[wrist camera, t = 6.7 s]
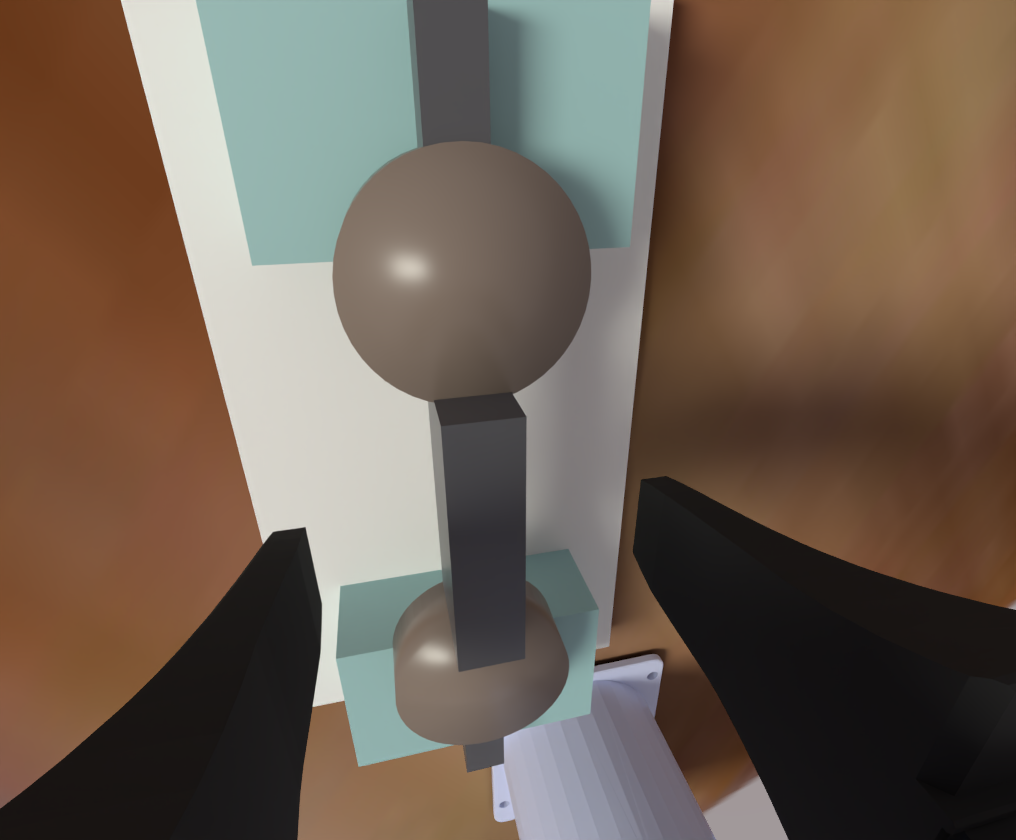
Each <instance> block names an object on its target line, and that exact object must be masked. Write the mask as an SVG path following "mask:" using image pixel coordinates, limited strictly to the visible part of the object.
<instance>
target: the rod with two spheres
mask: <svg viewBox="0 0 1016 840" xmlns="http://www.w3.org/2000/svg"><path fill="white" fill-rule="evenodd" d="M407 14H408V27H409V41H410V54H411V68H412V81H413V94H414V108H415V121H416V134H417V148H415V149H412V150H410V151H407V152H405V153H402V154H400V155H398V156H397V157H395V158H393V159H392V160H390V161H388V162H387V163H385V164H384V165H383V166H382V167H380V168H379V169H378V170H377V171H375V172H374V173H373V174H372V175H371V176H370V177H369V178H368V180H367V181H366V182H365V183H364V184H363V185H362V187H361V188H360V189H359V191H358V192H357V194H356V195H355V197H354V198H353V200H352V202H351V204H350V206H349V208H348V210H347V212H346V215H345V218H344V221H343V224H342V226H341V229H340V232H339V235H338V238H337V242H336V247H335V252H334V258H333V274H332V279H333V291H334V298H335V303H336V307H337V312H338V315H339V318H340V320H341V323H342V326H343V329H344V331H345V332H346V334H347V336H348V338H349V340H350V342H351V344H352V345H353V347H354V348H355V350H356V351H357V353H358V354H359V355H360V357H361V358H362V359H363V360H364V362H365V363H366V364H367V365H368V366H369V367H370V368H371V369H372V370H373V371H374V372H375V373H376V374H378V375H379V376H380V377H381V378H382V379H383V380H385V381H386V382H388V383H389V384H391V385H392V386H394V387H395V388H397V389H398V390H400V391H403V392H405V393H407V394H409V395H411V396H413V397H416V398H419V399H422V400H425V401H428V409H429V421H430V433H431V445H432V457H433V470H434V482H435V494H436V506H437V518H438V530H439V542H440V555H441V567H442V579H443V582H441V583H438V584H437V585H435V586H433V587H431V588H430V589H428V590H427V591H425V592H424V593H422V594H421V595H420V596H419V597H417V598H416V599H415V600H414V601H413V602H412V603H411V604H410V605H409V606H408V608H407V609H406V610H405V611H404V613H403V614H402V616H401V617H400V619H399V621H398V623H397V625H396V628H395V631H394V635H393V660H394V679H395V698H396V707H397V711H398V714H399V716H400V718H401V719H402V721H403V722H404V723H405V725H406V726H407V727H408V728H409V729H410V730H411V731H413V732H414V733H416V734H417V735H419V736H421V737H423V738H425V739H427V740H431V741H434V742H437V743H442V744H450V745H463V749H464V755H465V761H466V768H467V772H471V771H475V770H480V769H484V768H488V767H492V766H496V765H500V764H504V737H505V736H508V735H510V734H512V733H514V732H517V731H519V730H521V729H522V728H524V727H526V726H528V725H529V724H531V723H532V722H534V721H535V720H537V719H538V718H539V717H540V716H541V715H543V714H544V713H545V712H546V711H547V710H548V709H549V708H550V707H551V706H552V705H553V704H554V702H555V701H556V700H557V698H558V697H559V695H560V694H561V692H562V690H563V688H564V686H565V684H566V681H567V678H568V673H569V658H568V654H567V651H566V648H565V646H564V643H563V641H562V638H561V636H560V633H559V631H558V629H557V626H556V624H555V621H554V619H553V616H552V614H551V611H550V609H549V606H548V604H547V602H546V599H545V598H544V596H543V595H542V593H541V592H540V591H539V590H538V589H537V588H536V587H535V586H534V585H532V584H531V583H530V582H528V581H526V429H527V417H526V415H525V413H524V412H523V410H522V408H521V407H520V405H519V404H518V402H517V400H516V399H515V397H514V395H513V394H514V393H517V392H519V391H520V390H522V389H524V388H526V387H527V386H529V385H531V384H532V383H534V382H535V381H536V380H538V379H539V378H540V377H542V376H543V375H544V374H545V373H546V372H547V371H548V370H549V369H550V368H552V367H553V366H554V365H555V363H556V362H557V361H558V360H559V359H560V358H561V356H562V355H563V354H564V353H565V351H566V350H567V348H568V347H569V345H570V344H571V342H572V341H573V339H574V337H575V335H576V333H577V331H578V329H579V327H580V325H581V322H582V319H583V317H584V314H585V311H586V307H587V303H588V299H589V294H590V285H591V258H590V250H589V244H588V241H587V237H586V233H585V229H584V227H583V224H582V222H581V219H580V217H579V214H578V212H577V211H576V209H575V207H574V205H573V204H572V202H571V200H570V198H569V197H568V196H567V194H566V193H565V192H564V190H563V189H562V188H561V187H560V185H559V184H558V183H557V182H556V181H555V180H554V179H553V178H552V177H551V176H550V175H549V174H548V173H547V172H546V171H544V170H543V169H542V168H540V167H539V166H538V165H536V164H535V163H534V162H532V161H531V160H529V159H527V158H525V157H523V156H522V155H520V154H518V153H516V152H513V151H511V150H508V149H506V148H503V147H500V146H496V145H492V144H491V126H490V80H489V33H488V0H407Z"/></svg>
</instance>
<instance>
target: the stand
mask: <svg viewBox="0 0 1016 840" xmlns="http://www.w3.org/2000/svg"><path fill="white" fill-rule="evenodd" d="M121 2H122V6H123V10H124V14H125V18H126V21H127V25H128V29H129V33H130V37H131V41H132V44H133V48H134V52H135V56H136V60H137V64H138V67H139V71H140V75H141V79H142V83H143V86H144V90H145V94H146V98H147V102H148V106H149V109H150V113H151V117H152V121H153V125H154V128H155V132H156V136H157V140H158V144H159V148H160V151H161V155H162V159H163V163H164V167H165V171H166V174H167V178H168V182H169V186H170V190H171V193H172V197H173V201H174V205H175V209H176V213H177V216H178V220H179V224H180V228H181V232H182V236H183V239H184V243H185V247H186V251H187V255H188V258H189V262H190V266H191V270H192V274H193V278H194V281H195V285H196V289H197V293H198V297H199V300H200V304H201V308H202V312H203V316H204V320H205V323H206V327H207V331H208V335H209V339H210V343H211V346H212V350H213V354H214V358H215V362H216V365H217V369H218V373H219V377H220V381H221V385H222V388H223V392H224V396H225V400H226V404H227V408H228V411H229V415H230V419H231V423H232V427H233V430H234V434H235V438H236V442H237V446H238V450H239V453H240V457H241V461H242V465H243V469H244V472H245V476H246V480H247V484H248V488H249V492H250V495H251V499H252V503H253V507H254V511H255V515H256V518H257V522H258V526H259V530H260V534H261V537H262V541H263V544H264V542H265V541H266V540H267V538H268V537H269V536H270V535H271V534H272V532H275V531H282V530H289V529H296V528H303V527H306V532H307V536H308V541H309V546H310V550H311V555H312V560H313V564H314V569H315V574H316V578H317V583H318V588H319V592H320V597H321V601H322V632H321V654H320V661H319V668H318V674H317V681H316V687H315V694H314V700H313V707H315V706H320V705H325V704H330V703H334V702H339V701H344V700H345V704H346V709H347V714H348V719H349V723H350V728H351V733H352V737H353V742H354V747H355V751H356V756H357V761H358V766H359V767H360V766H365V765H369V764H373V763H378V762H382V761H386V760H391V759H395V758H400V757H404V756H408V755H413V754H417V753H421V752H426V751H430V750H434V749H439V748H443V747H448V746H452V745H450V744H442V743H437V742H434V741H431V740H427V739H425V738H423V737H421V736H419V735H417V734H416V733H414V732H413V731H411V730H410V729H409V728H408V727H407V726H406V725H405V723H404V722H403V721H402V719H401V718H400V716H399V714H398V711H397V707H396V698H395V679H394V660H393V635H394V631H395V628H396V625H397V623H398V621H399V619H400V617H401V616H402V614H403V613H404V611H405V610H406V609H407V608H408V606H409V605H410V604H411V603H412V602H413V601H414V600H415V599H416V598H417V597H419V596H420V595H421V594H422V593H424V592H425V591H427V590H428V589H430V588H431V587H433V586H435V585H437V584H438V583H441V582H443V579H442V567H441V555H440V542H439V530H438V518H437V506H436V494H435V482H434V470H433V457H432V445H431V433H430V421H429V409H428V401H425V400H422V399H419V398H416V397H413V396H411V395H409V394H407V393H405V392H403V391H400V390H398V389H397V388H395V387H394V386H392V385H391V384H389V383H388V382H386V381H385V380H383V379H382V378H381V377H380V376H379V375H378V374H376V373H375V372H374V371H373V370H372V369H371V368H370V367H369V366H368V365H367V364H366V363H365V362H364V360H363V359H362V358H361V357H360V355H359V354H358V353H357V351H356V350H355V348H354V347H353V345H352V344H351V342H350V340H349V338H348V336H347V334H346V332H345V331H344V329H343V326H342V323H341V320H340V318H339V315H338V312H337V307H336V303H335V298H334V291H333V279H332V274H333V258H334V252H335V247H336V242H337V238H338V235H339V232H340V229H341V226H342V224H343V221H344V218H345V215H346V212H347V210H348V208H349V206H350V204H351V202H352V200H353V198H354V197H355V195H356V194H357V192H358V191H359V189H360V188H361V187H362V185H363V184H364V183H365V182H366V181H367V180H368V178H369V177H370V176H371V175H372V174H373V173H374V172H375V171H377V170H378V169H379V168H380V167H382V166H383V165H384V164H385V163H387V162H388V161H390V160H392V159H393V158H395V157H397V156H398V155H400V154H402V153H405V152H407V151H410V150H412V149H415V148H417V134H416V121H415V108H414V94H413V81H412V68H411V54H410V41H409V27H408V14H407V0H121ZM673 3H674V0H488V33H489V80H490V126H491V144H492V145H496V146H500V147H503V148H506V149H508V150H511V151H513V152H516V153H518V154H520V155H522V156H523V157H525V158H527V159H529V160H531V161H532V162H534V163H535V164H536V165H538V166H539V167H540V168H542V169H543V170H544V171H546V172H547V173H548V174H549V175H550V176H551V177H552V178H553V179H554V180H555V181H556V182H557V183H558V184H559V185H560V187H561V188H562V189H563V190H564V192H565V193H566V194H567V196H568V197H569V198H570V200H571V202H572V204H573V205H574V207H575V209H576V211H577V212H578V214H579V217H580V219H581V222H582V224H583V227H584V229H585V233H586V237H587V241H588V244H589V250H590V258H591V285H590V294H589V299H588V303H587V307H586V311H585V314H584V317H583V319H582V322H581V325H580V327H579V329H578V331H577V333H576V335H575V337H574V339H573V341H572V342H571V344H570V345H569V347H568V348H567V350H566V351H565V353H564V354H563V355H562V356H561V358H560V359H559V360H558V361H557V362H556V363H555V365H554V366H553V367H552V368H550V369H549V370H548V371H547V372H546V373H545V374H544V375H543V376H542V377H540V378H539V379H538V380H536V381H535V382H534V383H532V384H531V385H529V386H527V387H526V388H524V389H522V390H520V391H519V392H517V393H514V394H513V395H514V397H515V399H516V400H517V402H518V404H519V405H520V407H521V408H522V410H523V412H524V413H525V415H526V417H527V429H526V581H528V582H530V583H531V584H532V585H534V586H535V587H536V588H537V589H538V590H539V591H540V592H541V593H542V595H543V596H544V598H545V599H546V602H547V604H548V606H549V609H550V611H551V614H552V616H553V619H554V621H555V624H556V626H557V629H558V631H559V633H560V636H561V638H562V641H563V643H564V646H565V648H566V651H567V654H568V658H569V673H568V678H567V681H566V684H565V686H564V688H563V690H562V692H561V694H560V695H559V697H558V698H557V700H556V701H555V702H554V704H553V705H552V706H551V707H550V708H549V709H548V710H547V711H546V712H545V713H544V714H543V715H541V716H540V717H539V718H538V719H537V720H535V721H534V722H532V723H531V724H529V725H528V726H526V727H524V728H522V729H526V728H531V727H535V726H539V725H544V724H548V723H552V722H557V721H561V720H565V719H570V718H574V717H579V716H583V715H587V714H590V710H591V698H592V686H593V675H594V663H595V651H596V649H599V648H604V647H608V646H609V642H610V632H611V622H612V612H613V602H614V592H615V582H616V572H617V562H618V552H619V542H620V532H621V522H622V512H623V502H624V492H625V482H626V472H627V462H628V452H629V442H630V432H631V422H632V412H633V402H634V392H635V382H636V372H637V362H638V352H639V342H640V333H641V323H642V313H643V303H644V293H645V283H646V273H647V263H648V253H649V243H650V233H651V223H652V213H653V203H654V193H655V183H656V173H657V163H658V153H659V143H660V133H661V123H662V113H663V103H664V93H665V83H666V73H667V63H668V53H669V43H670V33H671V23H672V13H673ZM522 729H521V730H522Z"/></svg>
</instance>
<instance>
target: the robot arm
mask: <svg viewBox="0 0 1016 840" xmlns="http://www.w3.org/2000/svg"><path fill="white" fill-rule="evenodd" d="M633 554H634V556H635V558H636V560H637V562H638V565H639V567H640V569H641V571H642V573H643V575H644V577H645V580H646V582H647V584H648V586H649V588H650V590H651V591H652V593H653V595H654V596H655V598H656V599H657V601H658V603H659V604H660V606H661V607H662V609H663V610H664V612H665V614H666V615H667V617H668V618H669V620H670V621H671V623H672V624H673V626H674V627H675V629H676V630H677V632H678V633H679V635H680V636H681V638H682V640H683V641H684V643H685V644H686V646H687V647H688V649H689V650H690V652H691V653H692V655H693V656H694V658H695V659H696V661H697V662H698V664H699V665H700V667H701V668H702V670H703V672H704V673H705V675H706V676H707V678H708V679H709V681H710V683H711V684H712V686H713V688H714V689H715V691H716V693H717V694H718V696H719V698H720V700H721V702H722V704H723V706H724V708H725V709H726V711H727V713H728V715H729V717H730V719H731V721H732V723H733V725H734V727H735V729H736V730H737V732H738V734H739V736H740V738H741V740H742V742H743V744H744V746H745V748H746V750H747V752H748V754H749V756H750V758H751V760H752V762H753V764H754V766H755V768H756V771H757V773H758V775H759V777H760V779H761V781H762V782H763V785H764V787H765V789H766V791H767V793H768V795H769V797H770V800H771V802H772V804H773V806H774V808H775V811H776V813H777V815H778V817H779V819H780V822H781V824H782V826H783V828H784V830H785V833H786V835H787V837H788V839H789V840H1016V610H1013V609H1009V608H1004V607H999V606H995V605H990V604H986V603H982V602H978V601H974V600H970V599H966V598H962V597H958V596H954V595H950V594H947V593H943V592H939V591H936V590H932V589H929V588H925V587H922V586H918V585H915V584H912V583H909V582H905V581H902V580H899V579H896V578H893V577H890V576H886V575H883V574H880V573H877V572H874V571H871V570H868V569H866V568H863V567H860V566H857V565H854V564H852V563H849V562H847V561H844V560H841V559H839V558H836V557H834V556H831V555H829V554H826V553H823V552H821V551H818V550H816V549H814V548H811V547H809V546H807V545H804V544H802V543H800V542H798V541H795V540H793V539H791V538H789V537H787V536H785V535H782V534H780V533H778V532H776V531H774V530H772V529H770V528H768V527H765V526H763V525H761V524H759V523H757V522H755V521H753V520H751V519H749V518H747V517H745V516H743V515H742V514H740V513H738V512H736V511H734V510H732V509H730V508H728V507H726V506H724V505H722V504H720V503H719V502H717V501H715V500H713V499H711V498H709V497H707V496H705V495H704V494H702V493H700V492H698V491H696V490H694V489H692V488H690V487H688V486H686V485H684V484H682V483H680V482H678V481H676V480H674V479H671V478H669V477H667V476H664V477H657V478H650V479H642V480H641V485H640V494H639V502H638V511H637V520H636V529H635V537H634V546H633ZM321 632H322V601H321V597H320V592H319V588H318V583H317V578H316V574H315V569H314V564H313V560H312V555H311V550H310V546H309V541H308V536H307V532H306V527H303V528H296V529H289V530H282V531H275V532H272V534H271V535H270V536H269V537H268V538H267V540H266V541H265V542H264V544H263V545H262V546H261V548H260V549H259V551H258V552H257V553H256V555H255V556H254V558H253V559H252V560H251V562H250V563H249V564H248V566H247V567H246V568H245V570H244V571H243V573H242V574H241V575H240V577H239V578H238V579H237V581H236V582H235V583H234V584H233V586H232V587H231V588H230V590H229V591H228V592H227V593H226V595H225V596H224V597H223V598H222V600H221V601H220V602H219V604H218V605H217V606H216V607H215V609H214V610H213V611H212V612H211V614H210V615H209V616H208V617H207V618H206V619H205V621H204V622H203V623H202V624H201V625H200V626H199V628H198V629H197V630H196V631H195V632H194V633H193V634H192V636H191V637H190V638H189V639H188V640H187V641H186V643H185V644H184V645H183V646H182V647H181V648H180V649H179V651H178V652H177V653H176V654H175V655H174V656H173V657H172V658H171V659H170V660H169V661H168V662H167V663H166V665H165V666H164V667H163V668H162V669H161V670H160V671H159V672H158V673H157V674H156V675H155V676H154V677H153V678H152V679H151V680H150V681H149V682H148V683H147V684H146V685H145V686H144V687H143V688H142V689H141V690H140V691H139V692H138V693H137V694H136V695H135V696H134V697H133V698H132V699H131V700H129V701H128V702H127V703H126V704H125V705H124V706H123V707H122V708H121V709H120V710H119V711H118V712H116V713H115V714H114V715H113V716H112V717H111V718H110V719H108V720H107V721H106V722H105V723H104V724H103V725H102V726H100V727H99V728H98V729H97V730H96V731H95V732H94V733H92V734H91V735H90V736H89V737H88V738H87V739H86V740H84V741H83V742H82V743H81V744H80V745H79V746H78V747H76V748H75V749H74V750H73V751H72V752H71V753H70V754H68V755H67V756H66V757H65V758H64V759H63V760H61V761H60V762H59V763H58V764H57V765H55V766H54V767H53V768H52V769H50V770H49V771H48V772H47V773H45V774H44V775H43V776H42V777H40V778H39V779H38V780H37V781H35V782H34V783H33V784H32V785H30V786H29V787H28V788H27V789H25V790H24V791H23V792H22V793H20V794H19V795H18V796H16V797H15V798H14V799H12V800H11V801H10V802H9V803H7V804H6V805H5V806H3V807H2V808H1V809H0V840H297V837H298V820H299V804H300V790H301V781H302V773H303V765H304V758H305V752H306V745H307V739H308V732H309V726H310V720H311V713H312V707H313V700H314V694H315V687H316V681H317V674H318V668H319V661H320V654H321ZM662 670H663V662H662V660H661V658H660V657H659V655H657V654H649V655H644V656H639V657H635V658H630V659H625V660H620V661H616V662H611V663H606V664H601V665H597V666H594V675H593V686H592V698H591V710H590V714H587V715H583V716H579V717H574V718H570V719H565V720H561V721H557V722H552V723H548V724H544V725H539V726H535V727H531V728H526V729H522V730H519V731H517V732H514V733H512V734H510V735H508V736H505V737H504V764H500V765H496V766H492V790H493V812H494V818H495V820H496V821H498V822H505V821H509V820H513V819H515V820H516V825H517V829H518V834H519V838H520V840H716V839H715V837H714V835H713V833H712V831H711V829H710V827H709V825H708V823H707V821H706V819H705V817H704V815H703V813H702V811H701V809H700V807H699V805H698V803H697V801H696V799H695V797H694V795H693V793H692V791H691V789H690V788H689V786H688V784H687V782H686V780H685V778H684V776H683V774H682V772H681V770H680V768H679V766H678V764H677V762H676V760H675V758H674V756H673V754H672V752H671V750H670V748H669V746H668V744H667V742H666V740H665V738H664V736H663V734H662V732H661V731H660V729H659V727H658V725H657V723H656V721H655V719H654V718H655V712H656V706H657V700H658V694H659V688H660V682H661V676H662Z"/></svg>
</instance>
